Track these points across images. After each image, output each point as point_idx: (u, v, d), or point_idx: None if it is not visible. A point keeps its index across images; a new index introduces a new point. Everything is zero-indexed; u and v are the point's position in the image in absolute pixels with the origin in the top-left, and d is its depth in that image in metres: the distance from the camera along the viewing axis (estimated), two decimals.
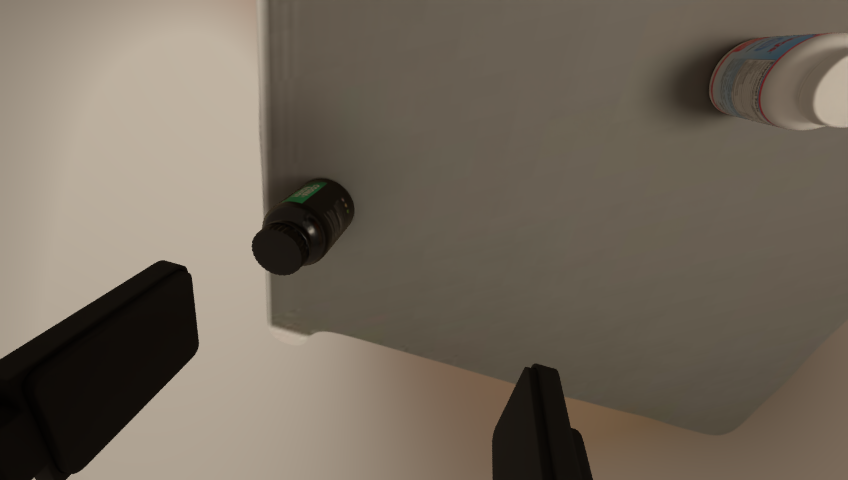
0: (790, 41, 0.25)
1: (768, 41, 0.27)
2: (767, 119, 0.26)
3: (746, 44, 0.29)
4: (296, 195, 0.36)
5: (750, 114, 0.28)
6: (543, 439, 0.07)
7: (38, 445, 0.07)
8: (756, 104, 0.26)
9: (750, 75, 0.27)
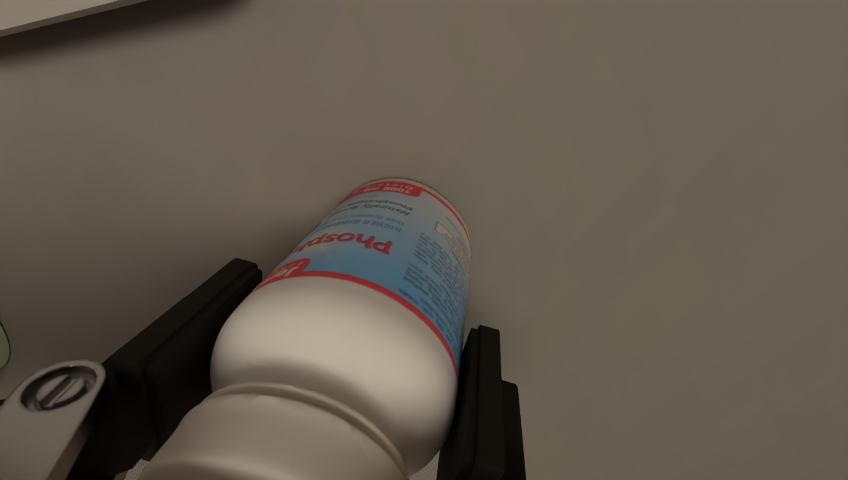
0: None
1: None
2: None
3: None
4: None
5: None
6: (474, 384, 0.08)
7: (149, 425, 0.08)
8: None
9: None
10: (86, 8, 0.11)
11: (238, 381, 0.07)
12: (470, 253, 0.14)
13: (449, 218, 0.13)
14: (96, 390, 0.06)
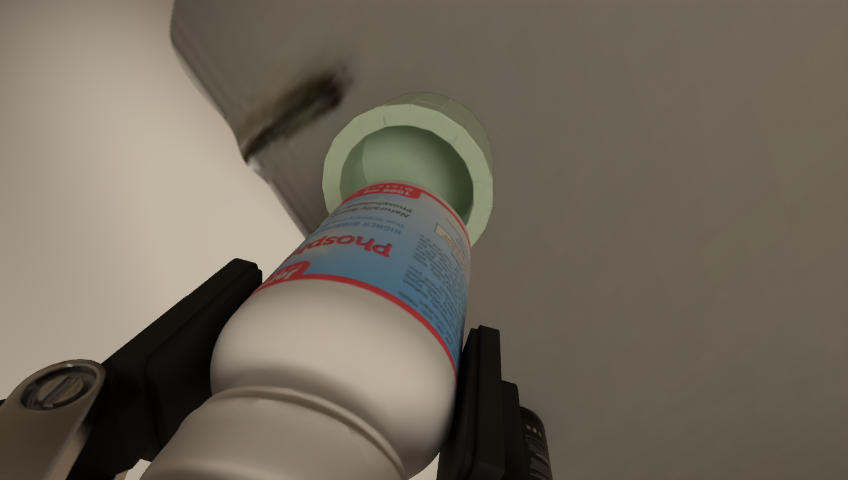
0: None
1: None
2: None
3: None
4: None
5: None
6: (474, 384, 0.08)
7: (149, 425, 0.08)
8: None
9: None
10: None
11: (238, 384, 0.07)
12: (470, 255, 0.14)
13: (449, 220, 0.13)
14: (96, 390, 0.06)
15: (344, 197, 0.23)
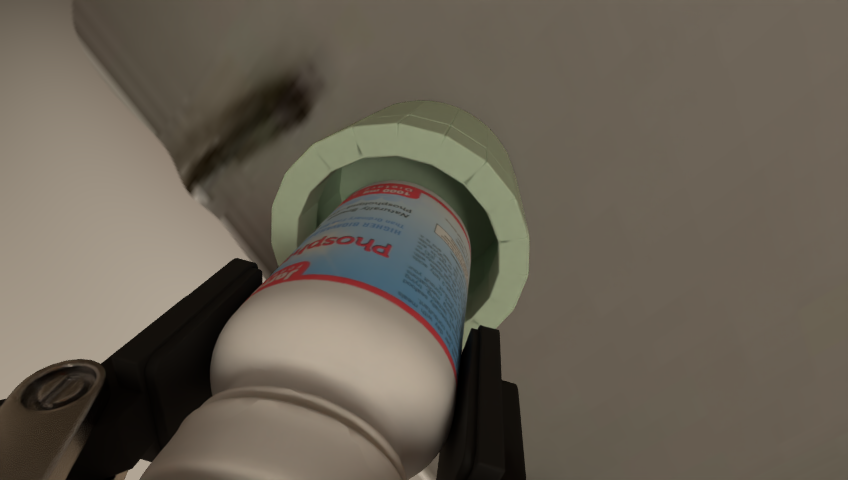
0: None
1: None
2: None
3: None
4: None
5: None
6: (474, 384, 0.08)
7: (149, 425, 0.08)
8: None
9: None
10: None
11: (238, 384, 0.07)
12: (469, 255, 0.14)
13: (448, 220, 0.13)
14: (96, 390, 0.06)
15: None
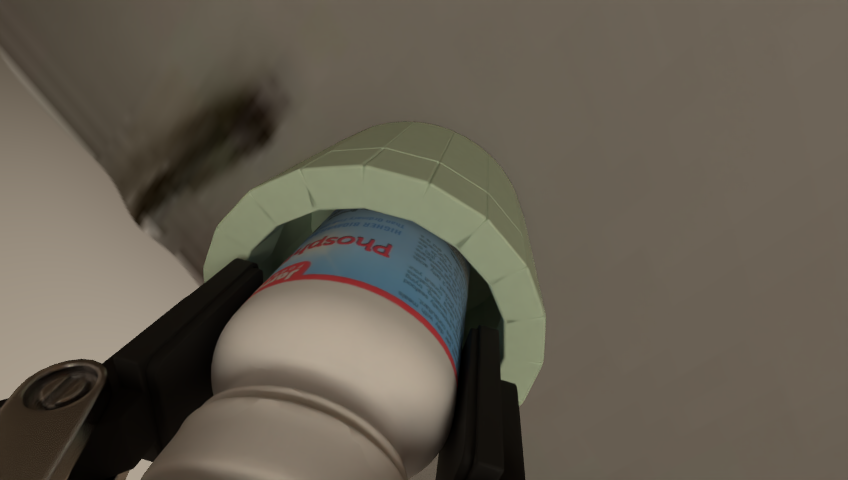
0: None
1: None
2: None
3: None
4: None
5: None
6: (473, 383, 0.08)
7: (151, 424, 0.08)
8: None
9: None
10: None
11: (239, 384, 0.07)
12: None
13: None
14: (98, 390, 0.06)
15: None
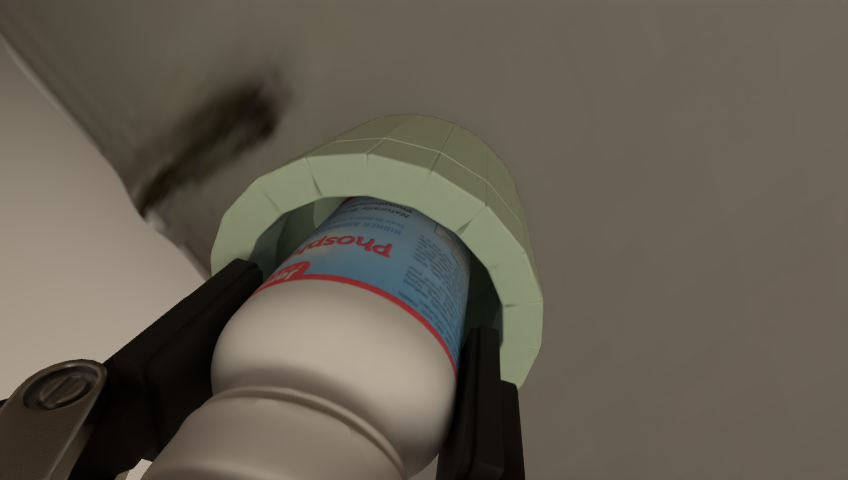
0: None
1: None
2: None
3: None
4: None
5: None
6: (473, 383, 0.08)
7: (150, 425, 0.08)
8: None
9: None
10: None
11: (238, 384, 0.07)
12: (470, 255, 0.14)
13: None
14: (98, 390, 0.06)
15: None
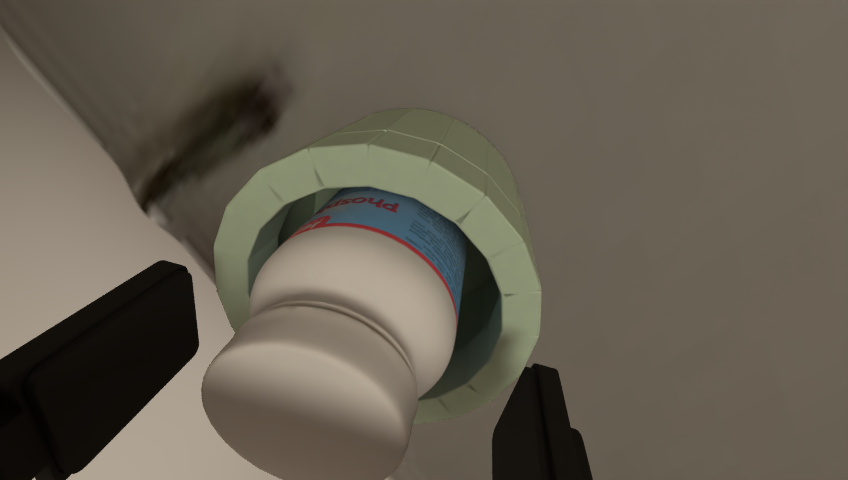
0: None
1: None
2: None
3: None
4: None
5: None
6: (543, 439, 0.07)
7: (39, 445, 0.07)
8: None
9: None
10: None
11: None
12: None
13: None
14: None
15: None
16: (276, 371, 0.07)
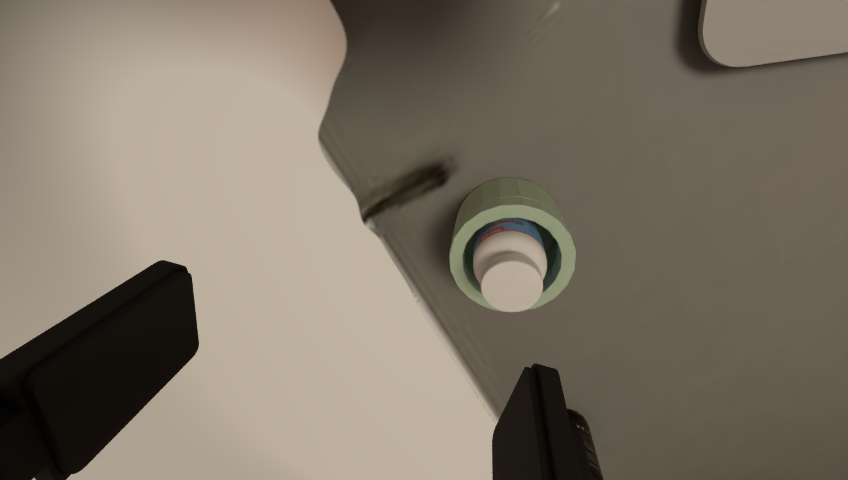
0: (475, 243, 0.32)
1: (477, 230, 0.34)
2: None
3: None
4: None
5: None
6: (543, 439, 0.07)
7: (38, 445, 0.07)
8: None
9: None
10: None
11: (496, 255, 0.28)
12: None
13: None
14: None
15: (463, 261, 0.33)
16: (510, 269, 0.27)
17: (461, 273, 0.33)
